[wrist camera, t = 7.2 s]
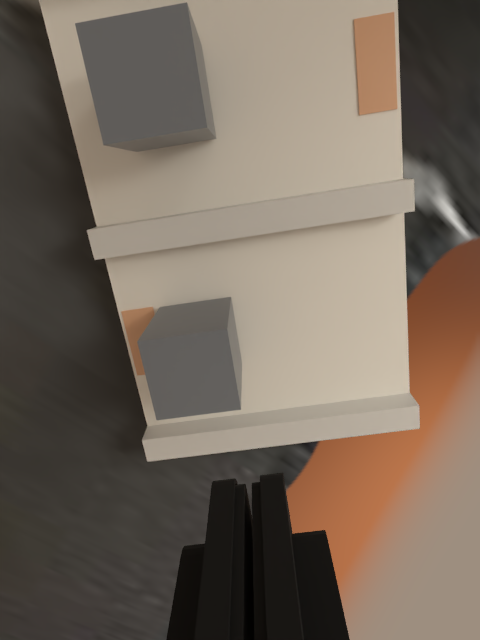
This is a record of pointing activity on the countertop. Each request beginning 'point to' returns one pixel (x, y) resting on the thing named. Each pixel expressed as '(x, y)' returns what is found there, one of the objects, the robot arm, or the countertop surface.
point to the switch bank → (266, 216)
